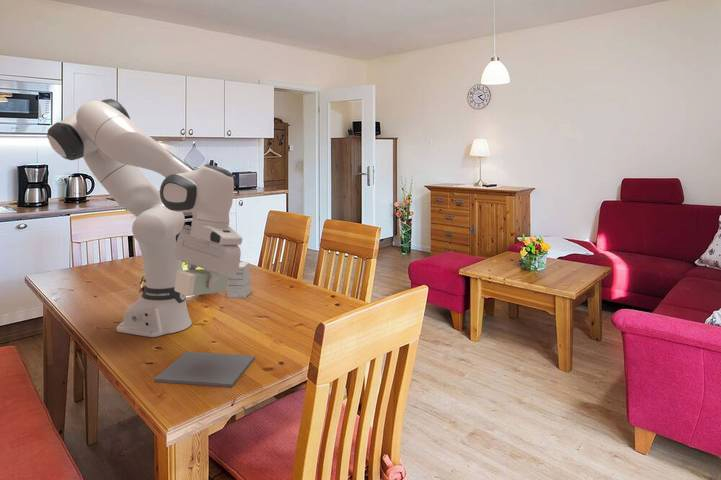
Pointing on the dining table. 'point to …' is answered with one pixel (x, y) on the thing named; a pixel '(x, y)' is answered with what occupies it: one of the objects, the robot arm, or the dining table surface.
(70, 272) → the dining table surface
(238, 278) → the supplement box
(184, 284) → the sage block
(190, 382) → the rubber mat
